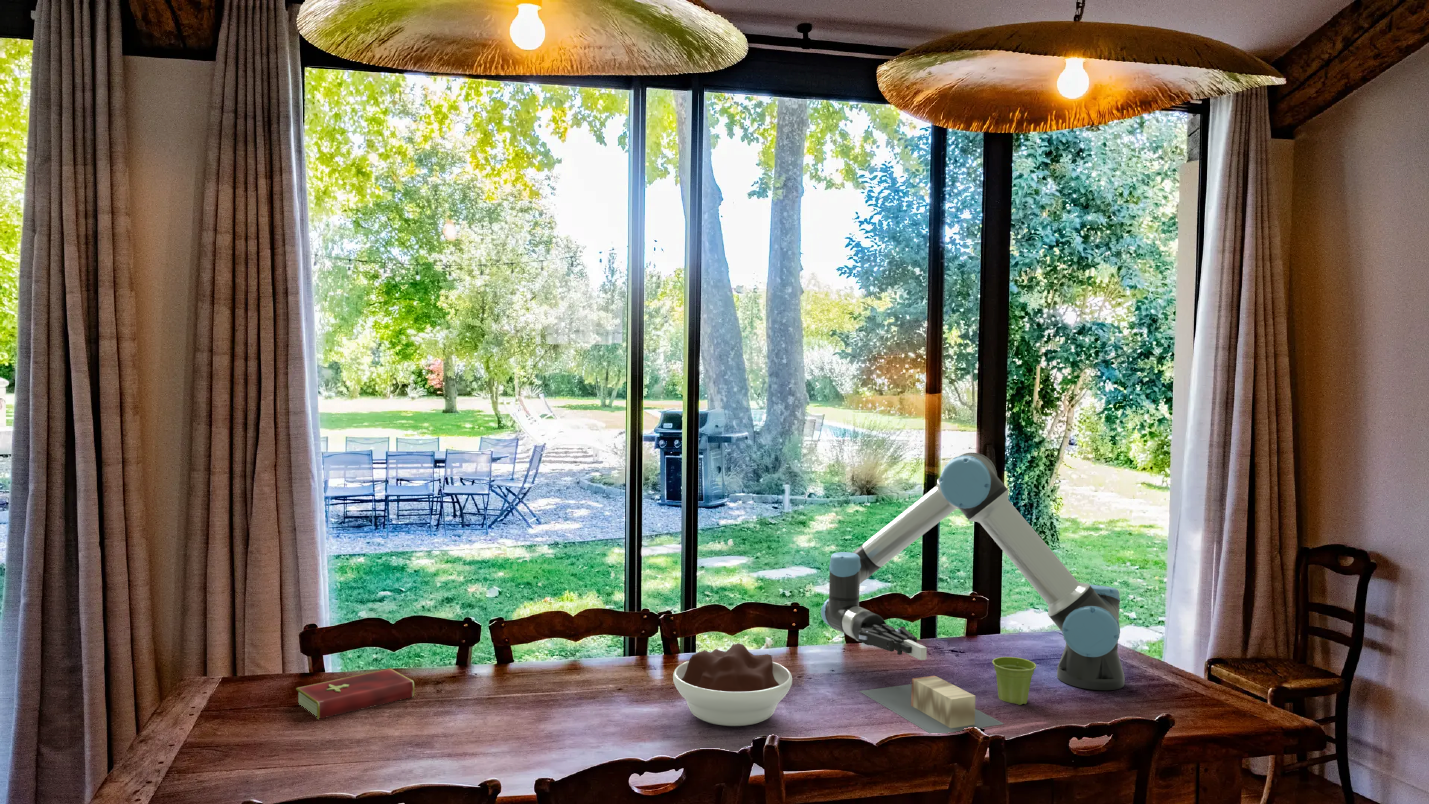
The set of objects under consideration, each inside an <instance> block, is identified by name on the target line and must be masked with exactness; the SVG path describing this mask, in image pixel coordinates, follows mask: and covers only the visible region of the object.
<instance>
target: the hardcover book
mask: <svg viewBox="0 0 1429 804" xmlns="http://www.w3.org/2000/svg"><path fill="white" fill-rule="evenodd" d="M295 690H296V691H297V692H298V697H297V698H298V700H297V701H298V703H299V704H298V703H297V704H298V705H299V706H300V705H301V706H300V707H302V706H303V707H304V709H305V708H306V709H307V710H308V711H307V710H306V709H305V710H306V711H307V712H309V711H310V712H311V713H312V715H313V714H314V715H315V716H314V715H313V716H314V717H316V716H317V717H316V720H317V719H318V720H320V719H319V718H322V719H324V718H323V717H326V716H331V717H334V716H333V715H335V714H339V715H343V714H342V713H344V714H346V713H345V712H348V713H350V712H349V711H352V712H357V711H359V710H358V709H361V708H365V709H368V708H367V707H369V708H371V707H370V706H374V705H378V706H381V705H380V704H382V705H384V704H383V703H387V704H389V703H388V702H391V703H394V702H393V701H395V702H398V701H397V700H400V699H404V700H407V699H406V698H408V699H411V698H410V697H412V698H414V697H415V692H416V691H415V681H414V680H413V679H411V678H409V677H407V676H405V675H404V674H402V673H400V672H398V671H396V670H394V669H392V668H385V669H381V670H376V671H372V672H367V673H361V674H357V675H352V676H347V677H342V678H338V679H333V680H332V679H331V680H327V681H323V682H317V683H313V684H309V685H304V686H299V687H296V688H295ZM413 696H414V697H413ZM400 701H401V700H400ZM303 707H302V708H303ZM374 707H375V706H374ZM356 710H357V711H356ZM361 710H362V709H361ZM310 712H309V713H310ZM311 713H310V714H311ZM335 716H336V715H335Z"/></svg>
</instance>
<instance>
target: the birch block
mask: <svg viewBox="0 0 1429 804" xmlns="http://www.w3.org/2000/svg"><path fill="white" fill-rule="evenodd" d="M911 684H912V693H911V706H913V707H914V708H916V709H918V710H920V711H921V712H923V713H925V714H927V715H928V716H930V717H932V718H934V719H935V720H937V721H939V722H941V723H942V724H944V725H946V726H948V727H949V728H956V727H962V726H968V725H975V709H976V695H974V694H973V693H970V692H968V691H966V690H965V689H963V688H960V687H958V686H957V685H954V684H952V683H950V682H949V681H947V680H944V679H943V678H941V677H938V676H937V675H930V676H921V677H913V678H911Z"/></svg>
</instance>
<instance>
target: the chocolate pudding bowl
mask: <svg viewBox="0 0 1429 804" xmlns="http://www.w3.org/2000/svg"><path fill="white" fill-rule="evenodd" d="M772 658H773V657H772V655H770V654H768V653H766V654H759V655H758V654H757V655H755V654H753V653H751V652H750V651H749V650H748V649H747V647H746V646H745V645H744V644H742V643H735V644H734V643H732V645H731V646H730V647H729V649H727V651H722V650H719V649H717V648H715V649H714V650H713V651H711V652H709V651H708V650H706V649H704V650H702V651H698V652H697V653H694V654H692V655H691V656H690V658H689V660H687V661H685V662H683V663H681V664H679V665H678V666H677V667H676V668H675V669H674V672H673V674H672V679H673V680H672V681H673V684H674V687H675V688H676V690H677V691H678V693H679V694H680V695H681V697H682V698H683V699H684V700H685V701H686V704H687V706H688V708H689V711H690V713H691V714H692V715H693V716H695V718H698V719H699V720H701V721H703V722H706V723H709V724H713V725H719V726H727V727H742V726H750V725H756V724H758V723H761V722H764V721H766V720H768V719H770V718H771V717H772V716H773V715H774V713H775V710H776V709H777V707H778V704H779V702H781V701H782V700H783V699H784V698H785V696H786V695H787V694H788V693H789V690H790V688H791V687H792V685H793V676H792V674H791V671H790V670H788V668H786V667H785V666H783V665H782V664H780V663H778V662H775V661H773V659H772Z"/></svg>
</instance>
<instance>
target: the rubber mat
mask: <svg viewBox="0 0 1429 804" xmlns="http://www.w3.org/2000/svg"><path fill="white" fill-rule="evenodd" d="M858 692H859V693H861V694H862V695H865V696H866V697H868V698H870V699H871V700H873V701H874V702H876V703H878V704H879V705H881V706H883V707H885V708H886V709H888V710H890V711H891V712H893V713H895V714H896V715H898V716H899V717H902V718H903V719H905V720H907V721H908V722H910V723H911V724H913V725H915V726H916V727H918V728H920V729H922V730H923V731H924V732H926V733H927V734H930V733H946V734H949V733H948V732H952V733H956V732H955V731H958V732H963V731H962V730H963V729H964V728H968V727H978V728H977V729H982V728H989V727H990V728H991V727H995V726H1000V725H1001V726H1002V725H1005V723H1004V722H1002V721H1000V720H998V719H996V718H994V717H992V716H991V715H989V714H987V713H985V712H983V711H981V710H979V709H977V708H975V725H968V726H962V727H956V728H949V727H948V726H946V725H944V724H942V723H941V722H939V721H937V720H935V719H934V718H932V717H930V716H928V715H927V714H925V713H923V712H921V711H920V710H918V709H916V708H914V707H913V706H911V693H912V683H909V684H904V685H902V684H901V685H895V686H894V685H893V686H889V687H880V688H872V689H863V690H859V691H858Z"/></svg>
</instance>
